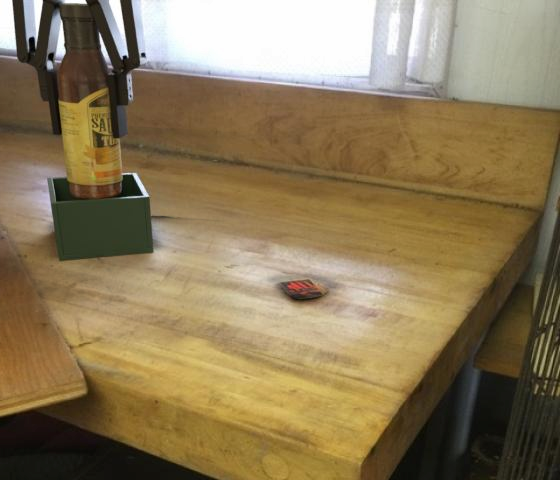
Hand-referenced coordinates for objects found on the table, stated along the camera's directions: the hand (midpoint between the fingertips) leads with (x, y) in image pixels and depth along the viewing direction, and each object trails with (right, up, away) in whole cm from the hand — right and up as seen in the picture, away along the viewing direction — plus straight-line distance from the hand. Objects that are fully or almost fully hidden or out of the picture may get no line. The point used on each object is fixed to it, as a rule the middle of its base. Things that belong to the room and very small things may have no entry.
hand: (90, 133), depth 78 cm
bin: (0, -11, +6) cm, 13 cm away
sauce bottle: (0, -6, +4) cm, 7 cm away
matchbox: (+24, -18, -5) cm, 31 cm away
